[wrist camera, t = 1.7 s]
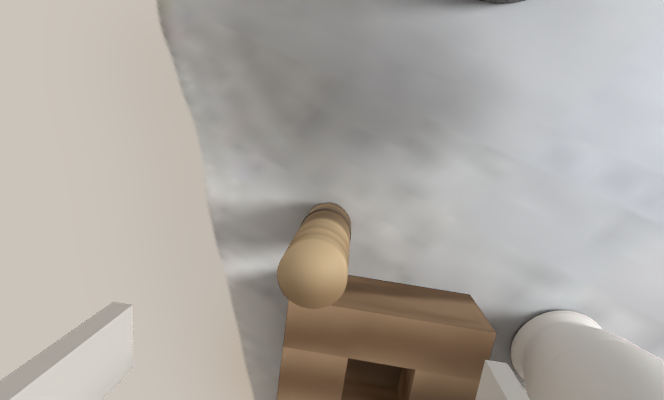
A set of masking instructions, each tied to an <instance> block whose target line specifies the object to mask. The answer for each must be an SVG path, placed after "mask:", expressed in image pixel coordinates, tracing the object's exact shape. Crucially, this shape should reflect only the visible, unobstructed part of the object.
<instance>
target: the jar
mask: <svg viewBox="0 0 664 400" xmlns="http://www.w3.org/2000/svg"><path fill="white" fill-rule="evenodd" d="M511 360H512V364H513V366H514V368H515V370H516V372H517V373H518V374H519V376H520V377H521V378H522V379H523V380H524V383H525V387H526V391H527V394H528V396H529V398H530V400H664V360H662V359H660V358H658V357H657V356H655V355H653V354H651V353H649V352H647V351H645V350H643V349H641V348H640V347H638V346H636V345H635V344H633V343H631V342H629V341H628V340H626V339H624V338H622V337H620V336H618V335H615V334H613V333H610V332H608V331H605V330H602V328H601V327H600V326H599V325H598V324H597V323H596V322H595V321H594V320H592V319H591V318H589V317H588V316H586V315H583V314H581V313H578V312H574V311H566V310H559V311H551V312H547V313H543V314H541V315H539V316H536V317H534V318H533V319H531V320H530V321H528V322H527V323H526V324H524V325H523V326H522V327H521V328H520V330H519V331H518V332H517V334H516V336H515V337H514V340H513V342H512V346H511Z"/></svg>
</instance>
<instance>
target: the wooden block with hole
mask: <svg viewBox="0 0 664 400" xmlns="http://www.w3.org/2000/svg"><path fill="white" fill-rule="evenodd" d="M495 337H496V332H495V330H494V329H493V327H492V326H491V325H490V323H489V322H488V320H487V319H486V317H485V316H484V314H483V313H482V312H481V310H480V309H479V307H478V306H477V304H476V303H475V301H474V300H473V299H472V297H471V296H470V295H468V294H462V293H456V292H450V291H443V290H437V289H431V288H425V287H419V286H413V285H406V284H400V283H394V282H388V281H382V280H376V279H369V278H363V277H357V276H351V275H348V276H347V284H346V288H345V290H344V292H343V294H342V295H341V297H340V298H339V299H338V300H337V301H336V302H334V303H333V304H331V305H330V306H327V307H324V308H320V309H308V308H303V307H300V306H298V305H296V304H294V303H293V302H291V301H290V300H289V302H288V310H287V318H286V326H285V335H284V343H283V351H282V359H281V367H280V376H279V384H278V392H277V400H475V399H476V395H477V391H478V387H479V383H480V379H481V375H482V371H483V367H484V363H485V360H489V358H490V355H491V351H492V348H493V344H494V340H495Z"/></svg>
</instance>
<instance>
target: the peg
mask: <svg viewBox="0 0 664 400" xmlns="http://www.w3.org/2000/svg"><path fill="white" fill-rule="evenodd" d="M350 239H351V222H350V218H349V216H348V214H347V213H346V211H345V210H344V209H343V208H342V207H340V206H339V205H337V204H334V203H323V204H319V205H317V206H315V207H314V208H313V209H312V210H311V211H310V212H309V213H308V215H307V216H306V218H305V219H304V221H303V222H302V224H301V227H300V229H299V230H298V232H297V234H296V235H295V237H294V239H293V240H292V242H291V244H290V245H289V247H288V249H287V250H286V252H285V254H284V255H283V257H282V259H281V261H280V263H279V266H278V270H277V279H278V284H279V286H280V289H281V290H282V292H283V294H284V295H285V296H286V297H287V298H288V299H289V300H290V301H291V302H293V303H294V304H296V305H298V306H300V307H303V308H308V309H320V308H324V307H327V306H330V305H331V304H333V303H334V302H336V301H337V300H338V299H339V298H340V297H341V295H342V294H343V292H344V290H345V288H346V284H347V276H348V261H349V246H350Z"/></svg>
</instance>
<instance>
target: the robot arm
mask: <svg viewBox="0 0 664 400" xmlns="http://www.w3.org/2000/svg"><path fill="white" fill-rule="evenodd" d="M480 1H485V2H491V3H512V2H519V1H524V0H480ZM132 308H133V305H130V304H124V303H117V302H112V303H111V304H109V305H108V306H106V307H105V308H104V309H102V310H101V311H99V312H98V313H96V314H95V315H94V316H92V317H91V318H89V319H88V320H86V321H85V322H84V323H82V324H81V325H79V326H78V327H76V328H75V329H74V330H72V331H71V332H69V333H68V334H66V335H65V336H63V337H62V338H61V339H59V340H58V341H57V342H55V343H54V344H52V345H51V346H49V347H48V348H47V349H45V350H43V351H42V352H41V353H39V354H38V355H36V356H35V357H34V358H32V359H31V360H29V361H28V362H26V363H25V364H23V365H22V366H21V367H19V368H18V369H16V370H15V371H13V372H12V373H10V374H9V375H8V376H6V377H5V378H3V379H2V380H0V400H103V399H104V398H105V397H106V396H107V395H108V394H109V393H110V392H111V391H112V390H113V389H114V388H115V386H116V385H117V384H118V383H119V382H120V381H121V380H122V379H123V378H124V377H125V376H126V375H127V374H128V373H129V372H130V371H131V370H132V369H133V309H132ZM475 400H530V398H529V396H528V395H527V393H526V392H525V390H524V389H523V387H522V386H521V384H520V382H519V381H518V379H517V378H516V376H515V375H514V373H513V371H512V370H511V368H510V367H509V365H508V364H507V363H503V362H497V361H490V360H485V363H484V367H483V371H482V375H481V379H480V383H479V387H478V391H477V395H476V399H475Z"/></svg>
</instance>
